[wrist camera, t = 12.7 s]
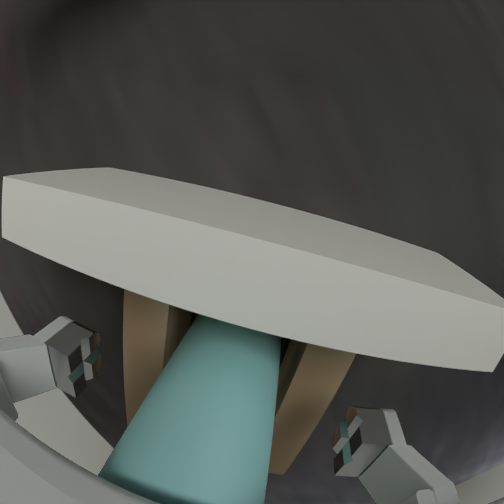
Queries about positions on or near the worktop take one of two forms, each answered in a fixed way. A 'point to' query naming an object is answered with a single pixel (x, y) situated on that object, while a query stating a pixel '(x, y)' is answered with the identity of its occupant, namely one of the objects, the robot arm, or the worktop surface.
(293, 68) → the worktop surface
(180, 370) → the dowel
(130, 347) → the channel block
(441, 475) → the robot arm
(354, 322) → the backstop wall
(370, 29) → the worktop surface
